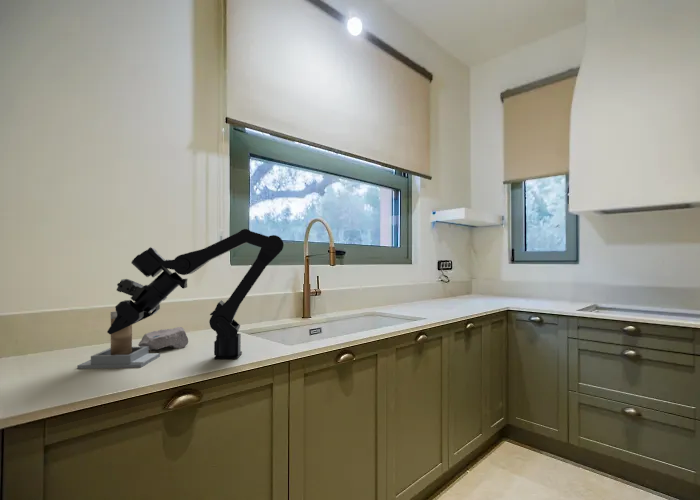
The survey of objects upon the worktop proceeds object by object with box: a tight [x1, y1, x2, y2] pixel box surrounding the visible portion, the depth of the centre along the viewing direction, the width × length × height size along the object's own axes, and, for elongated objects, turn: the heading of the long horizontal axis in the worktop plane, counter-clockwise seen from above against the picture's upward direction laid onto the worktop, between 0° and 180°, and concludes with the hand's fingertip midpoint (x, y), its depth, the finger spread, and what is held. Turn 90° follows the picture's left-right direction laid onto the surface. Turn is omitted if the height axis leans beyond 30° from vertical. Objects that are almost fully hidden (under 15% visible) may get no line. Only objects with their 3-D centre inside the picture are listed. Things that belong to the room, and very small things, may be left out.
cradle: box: [76, 346, 161, 370], centre depth 102 cm, size 16×11×3 cm
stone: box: [137, 326, 189, 351], centre depth 118 cm, size 13×10×6 cm
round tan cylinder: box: [110, 310, 133, 355], centre depth 102 cm, size 5×5×13 cm
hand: (115, 329), depth 102 cm, fingers open, 9 cm apart
